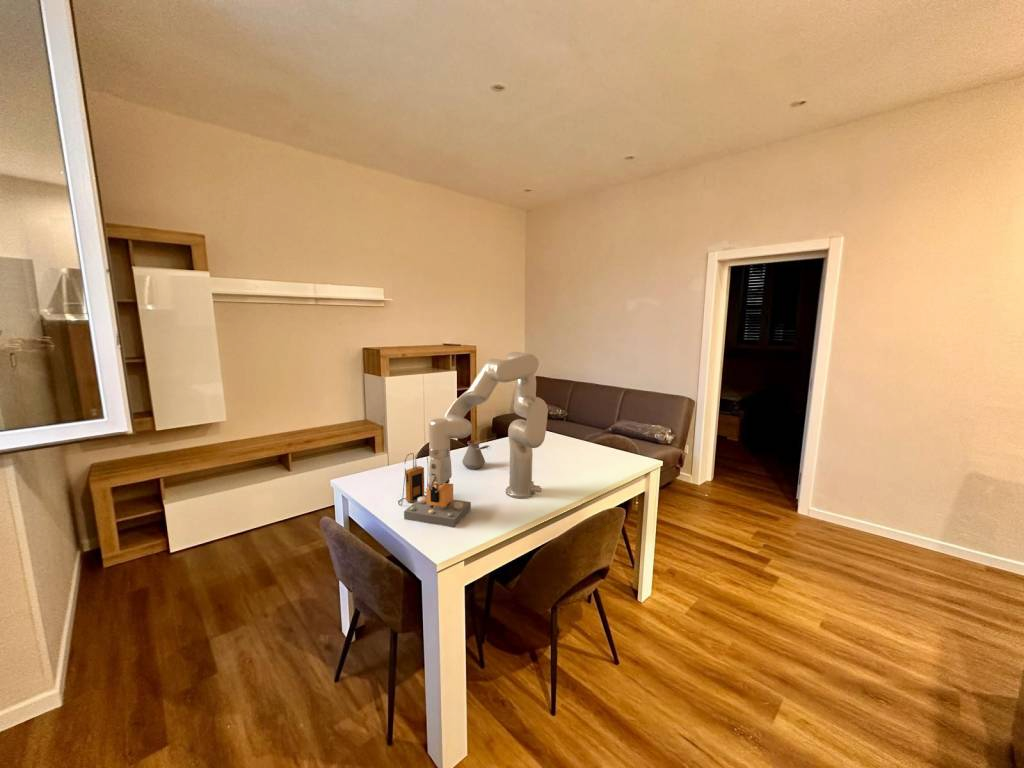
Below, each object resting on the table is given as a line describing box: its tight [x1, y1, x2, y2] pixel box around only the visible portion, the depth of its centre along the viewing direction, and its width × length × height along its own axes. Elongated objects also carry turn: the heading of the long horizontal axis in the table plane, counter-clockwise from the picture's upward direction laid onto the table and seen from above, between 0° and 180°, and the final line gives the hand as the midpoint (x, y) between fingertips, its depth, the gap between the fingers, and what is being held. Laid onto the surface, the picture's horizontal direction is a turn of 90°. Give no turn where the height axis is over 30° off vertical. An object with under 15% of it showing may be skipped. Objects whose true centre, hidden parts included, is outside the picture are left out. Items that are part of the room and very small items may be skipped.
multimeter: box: [397, 450, 429, 506], centre depth 165 cm, size 15×10×20 cm
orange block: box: [425, 482, 454, 507], centre depth 152 cm, size 7×7×6 cm
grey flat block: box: [403, 494, 472, 528], centre depth 151 cm, size 20×15×4 cm
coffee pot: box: [461, 439, 491, 470], centre depth 198 cm, size 21×12×15 cm, turn 33°
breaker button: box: [434, 505, 447, 509], centre depth 153 cm, size 5×5×3 cm
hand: (440, 496), depth 152 cm, fingers open, 7 cm apart
